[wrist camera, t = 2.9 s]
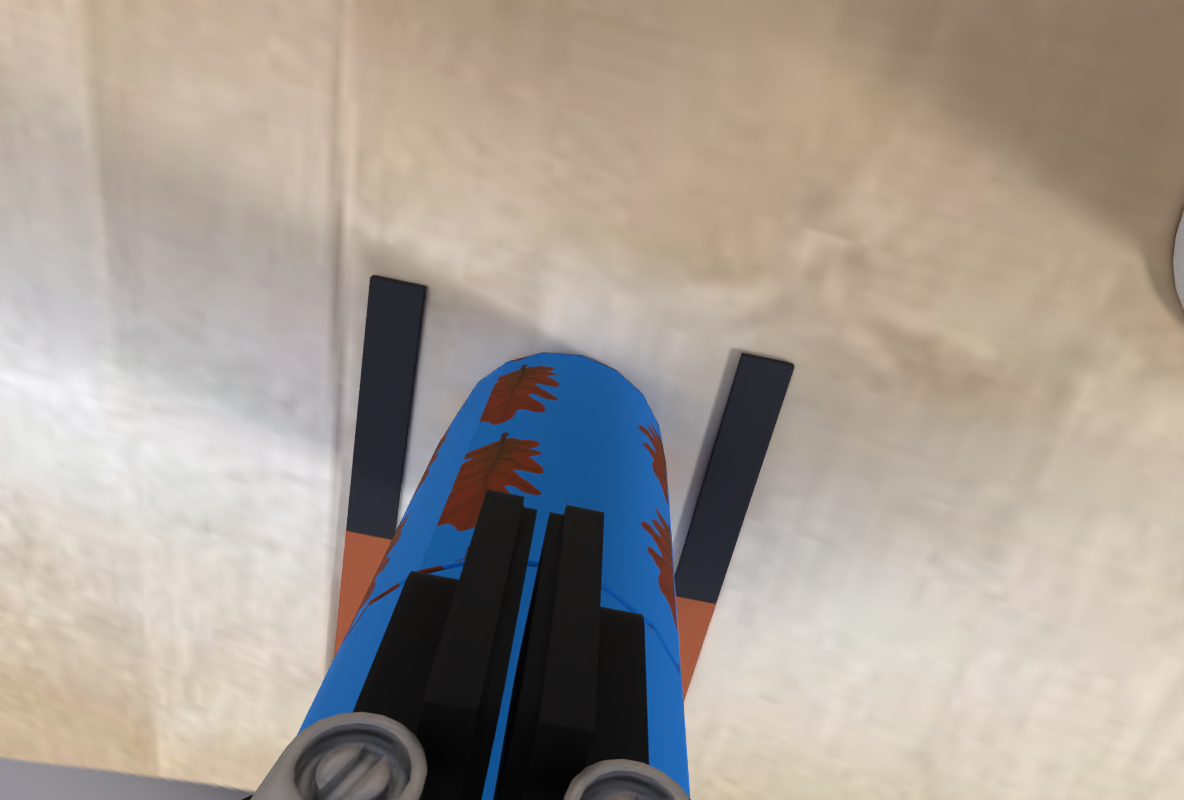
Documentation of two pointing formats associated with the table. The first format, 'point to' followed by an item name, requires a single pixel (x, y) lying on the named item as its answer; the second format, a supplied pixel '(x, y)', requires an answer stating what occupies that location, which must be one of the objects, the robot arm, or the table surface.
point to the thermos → (541, 523)
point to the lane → (385, 443)
